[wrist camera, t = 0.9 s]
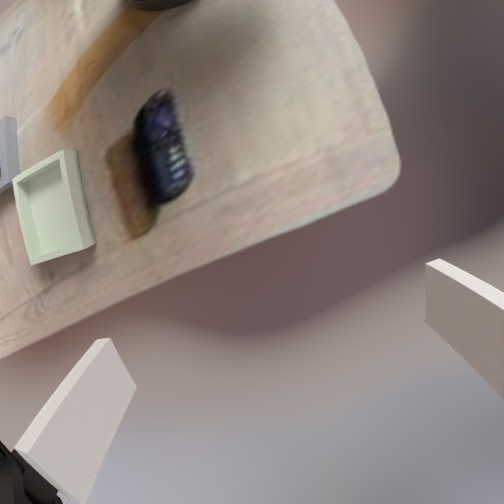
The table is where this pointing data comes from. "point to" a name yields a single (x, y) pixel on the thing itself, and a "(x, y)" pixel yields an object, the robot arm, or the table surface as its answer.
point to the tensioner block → (8, 153)
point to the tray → (53, 208)
